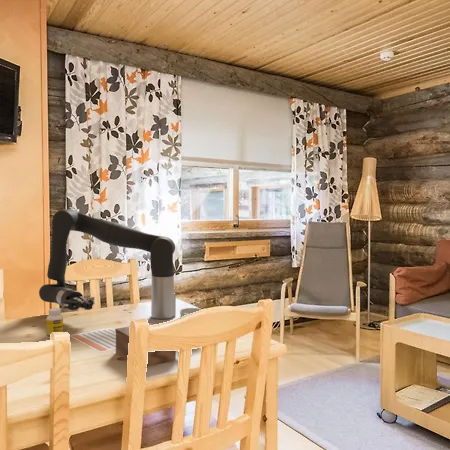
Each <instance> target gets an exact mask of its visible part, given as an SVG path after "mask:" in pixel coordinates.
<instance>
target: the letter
mask: <svg viewBox="0 0 450 450" xmlns="http://www.w3.org/2000/svg"><path fill="white" fill-rule="evenodd" d="M105 328H107V329H108V330H107V331H106V329H105ZM105 328H100V329H95V330H90V331H84V332H78V333H74V334H70V335H71V337H70V338H72V339H74V340H76V341H78V342H80V343H81V344H83V345H85V346H87V347H89V348H91V349H93V350H95V351H97V352H99V353H105V352H109V351H112V350H116V331H115V329H114V328H112V327H110V329H111V330H110V329H109V327H105Z"/></svg>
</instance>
